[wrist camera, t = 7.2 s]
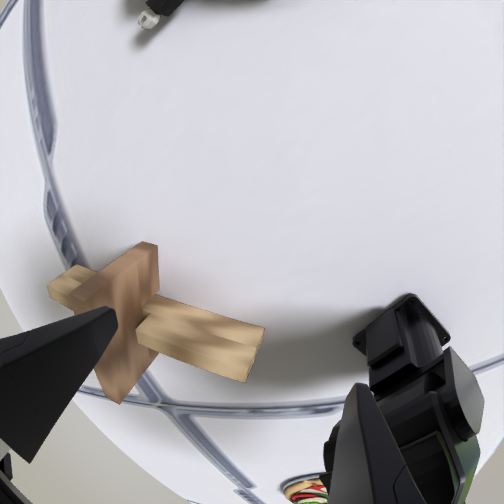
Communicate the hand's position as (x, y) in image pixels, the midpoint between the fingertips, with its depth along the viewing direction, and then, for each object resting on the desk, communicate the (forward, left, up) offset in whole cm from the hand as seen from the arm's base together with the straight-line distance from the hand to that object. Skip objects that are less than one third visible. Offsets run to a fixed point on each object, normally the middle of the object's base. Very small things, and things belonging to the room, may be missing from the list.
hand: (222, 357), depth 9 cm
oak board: (+5, +14, -12) cm, 19 cm away
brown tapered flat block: (+5, +14, -12) cm, 19 cm away
